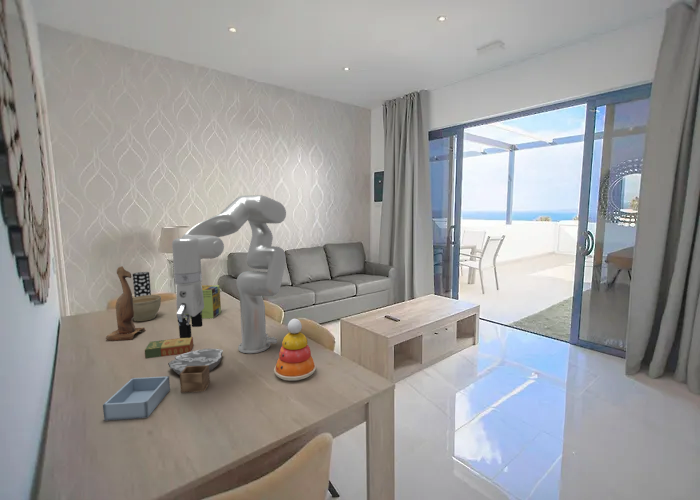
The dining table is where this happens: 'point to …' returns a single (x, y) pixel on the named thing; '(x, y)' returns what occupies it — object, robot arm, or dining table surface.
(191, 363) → the brain slice
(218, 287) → the protein box
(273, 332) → the dining table surface
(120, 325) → the bird sculpture
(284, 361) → the stacking toy
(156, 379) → the blue tray
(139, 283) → the spotted tube
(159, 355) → the carton
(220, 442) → the dining table surface
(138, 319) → the planter bowl
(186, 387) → the walnut crate
